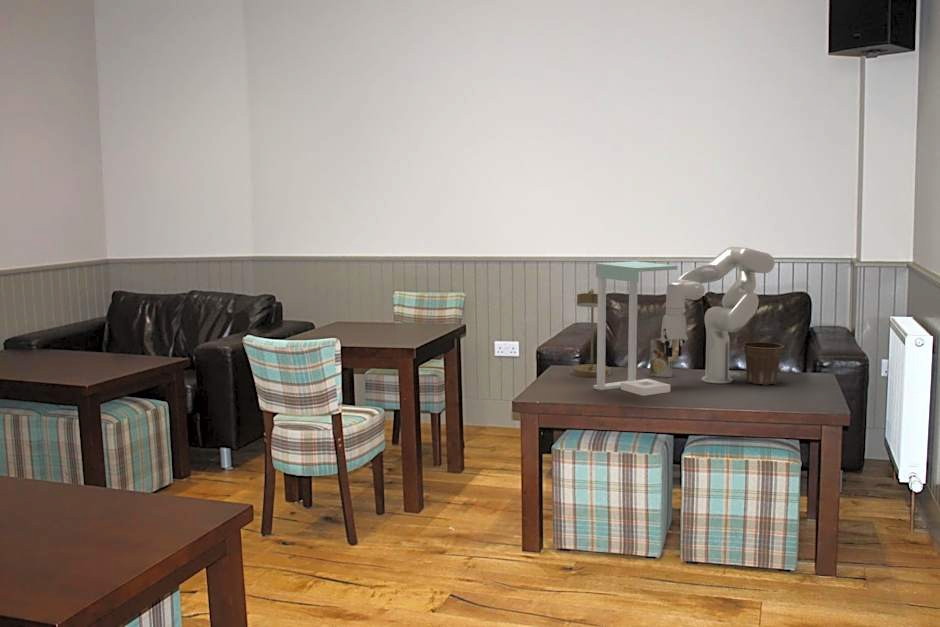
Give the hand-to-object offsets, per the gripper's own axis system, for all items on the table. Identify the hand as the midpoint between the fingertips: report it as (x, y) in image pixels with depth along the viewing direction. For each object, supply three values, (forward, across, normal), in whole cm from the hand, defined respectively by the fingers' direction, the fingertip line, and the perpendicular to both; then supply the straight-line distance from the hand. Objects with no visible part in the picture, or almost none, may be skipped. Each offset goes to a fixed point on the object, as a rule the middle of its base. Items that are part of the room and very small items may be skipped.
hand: (673, 355), depth 399 cm
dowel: (+2, 0, 0) cm, 2 cm away
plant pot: (+12, -38, +12) cm, 42 cm away
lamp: (+14, +15, -37) cm, 42 cm away
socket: (+13, +14, 0) cm, 19 cm away
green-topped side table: (+14, +19, -2) cm, 23 cm away
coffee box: (+13, -12, -21) cm, 28 cm away
